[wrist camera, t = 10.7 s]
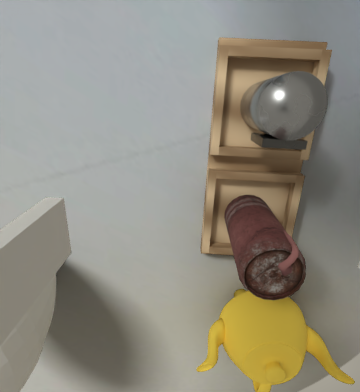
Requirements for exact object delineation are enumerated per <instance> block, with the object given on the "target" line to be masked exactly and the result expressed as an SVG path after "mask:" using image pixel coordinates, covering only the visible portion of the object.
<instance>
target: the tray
mask: <svg viewBox="0 0 360 392" xmlns="http://www.w3.org/2000/svg"><path fill="white" fill-rule="evenodd" d="M326 47H327V42H308V41H286V40H263V39H241V38H219V40H218V50H217V62H216V74H215V85H214V97H213V109H212V120H211V132H210V144H209V156H208V167H207V179H206V191H205V203H204V214H203V226H202V238H201V253H204V254H219V255H233V251H232V247H231V243H230V239H229V235H228V231H227V227H226V223H225V218H224V215H225V210H226V208H227V206H228V204H229V203H230V202H231V201H232V200H233V199H235V198H237V197H239V196H242V195H255V196H257V197H260V198H261V199H262V200H263V201H265V202H266V204H267V205H268V207H269V208H270V209H271V211H272V212H273V214H274V215H275V216H276V218H277V219H278V221H279V222H280V223H281V225H282V226H283V228H284V229H285V231H286V232H287V233H288V234H289V235H290V236H291V237H292V234H293V229H294V224H295V220H296V215H297V210H298V206H299V201H300V196H301V192H302V187H303V183H304V178H305V176H304V175H303V174H301V173H300V172H301V167H302V162H303V160H308V159H309V155H310V150H311V145H312V141H313V136H314V131H315V130H314V131H313V132H311V133H310V134H309V135H307V136H305V137H303V138H300V139H303V140H306V141H308V142H307V147H306V150H300V149H282V148H264V147H260V146H259V145H257V144H256V143H254V142H253V141H251V133H264V132H261V131H259V130H257V129H254V128H252V127H250V126H249V125H247V124H246V123H245V121H244V120H243V118H242V116H241V112H240V104H241V99H242V97H243V95H244V93H245V92H246V90H247V89H248V88H249V87H251V86H252V85H253V84H255V83H257V82H260V81H263V80H266V79H270V78H273V77H276V76H279V75H282V74H285V73H289V72H293V71H304V72H308V73H310V74H313V75H314V76H316V77H317V78H318V79H319V80H320V81H321V82H322V84H323V85H325V80H326V76H327V71H328V66H329V62H330V57H331V52H332V50H326Z"/></svg>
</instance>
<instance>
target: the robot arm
mask: <svg viewBox="0 0 360 392" xmlns="http://www.w3.org/2000/svg"><path fill="white" fill-rule="evenodd" d="M70 254H71V246H70V239H69V232H68V225H67V218H66V211H65V204H64V198H53V197H46V198H44V199H43V200H41V201H40V202H39V203H37V204H36V205H34V206H33V207H32V208H30V209H29V210H27V211H26V212H24V213H23V214H22V215H20V216H19V217H17V218H16V219H14V220H13V221H12V222H10V223H9V224H7V225H6V226H5V227H3V228H2V229H0V346H1V345H2V344H3V342H4V341H5V340H6V338H7V337H8V336H9V334H10V333H11V332H12V330H13V329H14V328H15V326H16V325H17V324H18V323H19V321H20V320H21V319H22V317H23V316H24V315H25V313H26V312H27V311H28V309H29V308H30V307H31V305H32V304H33V303H34V301H35V300H36V299H37V298H38V296H39V295H40V294H41V292H42V291H43V290H44V288H45V287H46V286H47V284H48V283H49V282H50V280H51V279H52V278H53V276H54V275H55V274H56V272H57V271H58V270H59V269H60V267H61V266H62V265H63V263H64V262H65V261H66V259H67V258H68V257H69V255H70ZM358 267H359V269H360V260H359V263H358Z"/></svg>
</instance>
